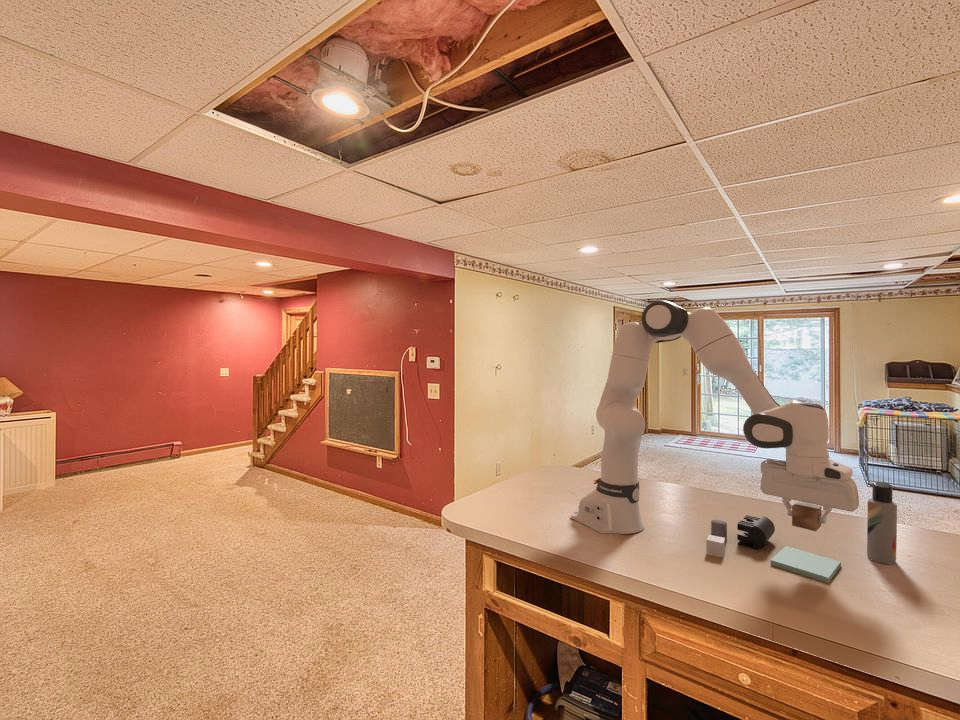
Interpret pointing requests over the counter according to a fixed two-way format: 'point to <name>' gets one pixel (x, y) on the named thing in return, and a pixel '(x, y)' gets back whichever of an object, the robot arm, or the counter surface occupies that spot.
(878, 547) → the lotion bottle
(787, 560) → the teal board
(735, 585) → the counter surface
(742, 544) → the end cap
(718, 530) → the grey rounded piece
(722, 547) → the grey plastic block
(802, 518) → the walnut block
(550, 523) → the counter surface
